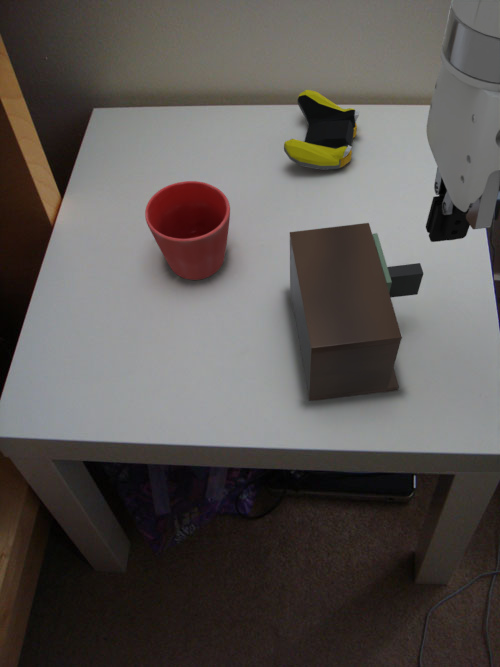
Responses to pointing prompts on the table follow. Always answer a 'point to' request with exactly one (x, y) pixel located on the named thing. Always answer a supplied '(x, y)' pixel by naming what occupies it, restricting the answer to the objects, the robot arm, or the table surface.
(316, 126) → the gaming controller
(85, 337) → the table surface
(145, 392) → the table surface
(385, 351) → the cupboard
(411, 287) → the sliding door
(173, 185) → the flower pot
